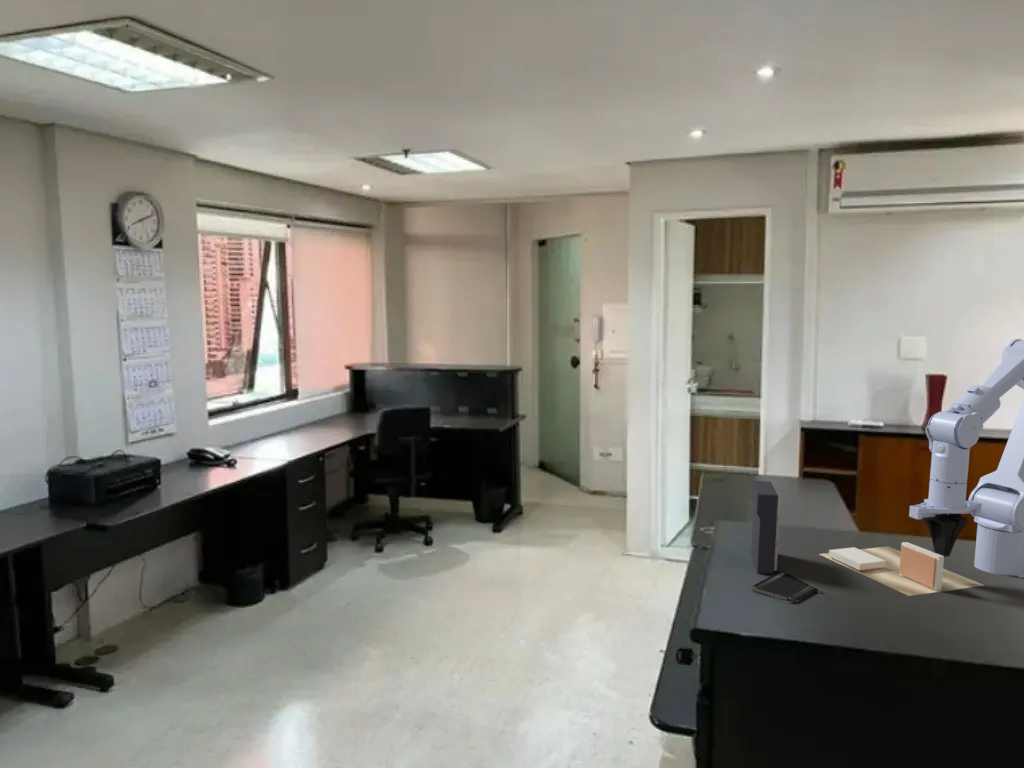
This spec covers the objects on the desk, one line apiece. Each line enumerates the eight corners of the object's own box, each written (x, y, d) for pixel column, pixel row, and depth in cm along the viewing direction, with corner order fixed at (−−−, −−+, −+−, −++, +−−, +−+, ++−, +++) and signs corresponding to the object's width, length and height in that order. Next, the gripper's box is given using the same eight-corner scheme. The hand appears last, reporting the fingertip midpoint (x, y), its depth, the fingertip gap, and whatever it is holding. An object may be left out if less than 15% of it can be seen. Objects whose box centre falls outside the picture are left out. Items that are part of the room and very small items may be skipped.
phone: (750, 586, 134) (790, 566, 144) (749, 593, 134) (789, 572, 144) (793, 600, 128) (832, 577, 138) (793, 606, 128) (831, 583, 139)
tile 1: (854, 547, 151) (829, 549, 149) (886, 560, 143) (859, 563, 141) (853, 555, 151) (828, 558, 149) (885, 569, 143) (859, 572, 141)
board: (887, 550, 157) (887, 546, 157) (984, 589, 136) (984, 585, 136) (818, 557, 151) (818, 553, 151) (908, 600, 131) (909, 595, 130)
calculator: (778, 575, 141) (782, 495, 140) (753, 573, 142) (757, 493, 140) (770, 555, 152) (774, 481, 150) (747, 554, 153) (751, 479, 151)
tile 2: (904, 573, 141) (906, 541, 140) (941, 589, 133) (944, 556, 133) (897, 574, 140) (899, 542, 140) (934, 590, 133) (936, 557, 132)
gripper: (960, 472, 142) (953, 544, 144) (897, 477, 138) (892, 551, 139) (994, 481, 136) (987, 556, 137) (930, 486, 131) (924, 564, 133)
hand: (941, 554), depth 138 cm, fingers closed
